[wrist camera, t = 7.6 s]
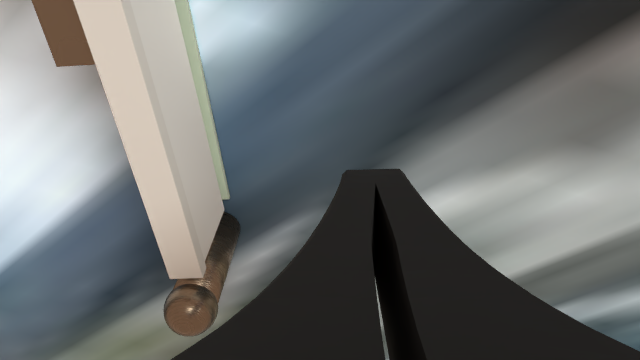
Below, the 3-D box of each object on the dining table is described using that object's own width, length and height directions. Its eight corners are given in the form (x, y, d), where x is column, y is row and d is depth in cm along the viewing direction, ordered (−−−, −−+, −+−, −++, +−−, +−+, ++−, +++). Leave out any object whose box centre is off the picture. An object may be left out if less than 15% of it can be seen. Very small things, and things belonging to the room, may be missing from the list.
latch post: (137, -38, 18) (75, -17, 14) (153, 26, 19) (101, 64, 15) (99, -36, 18) (26, -13, 14) (118, 28, 19) (57, 66, 15)
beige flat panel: (227, 212, 23) (202, 277, 19) (199, 213, 23) (169, 279, 19) (164, -53, 17) (110, -35, 13) (127, -49, 17) (62, -31, 13)
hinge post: (238, 209, 24) (204, 310, 18) (245, 242, 25) (215, 347, 19) (196, 210, 24) (149, 311, 18) (205, 243, 25) (163, 348, 19)
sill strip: (179, -40, 18) (177, -40, 17) (230, 197, 23) (229, 199, 23) (138, -37, 18) (136, -36, 18) (198, 198, 23) (197, 200, 23)
